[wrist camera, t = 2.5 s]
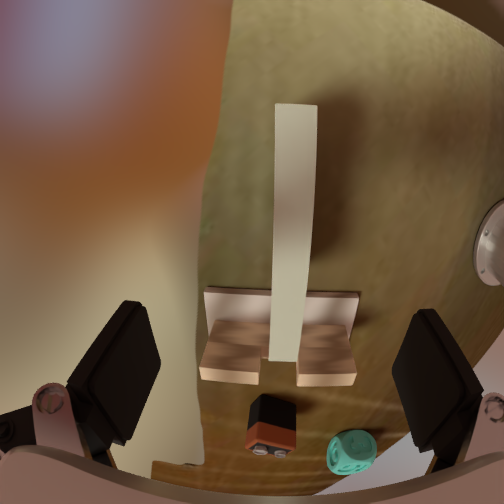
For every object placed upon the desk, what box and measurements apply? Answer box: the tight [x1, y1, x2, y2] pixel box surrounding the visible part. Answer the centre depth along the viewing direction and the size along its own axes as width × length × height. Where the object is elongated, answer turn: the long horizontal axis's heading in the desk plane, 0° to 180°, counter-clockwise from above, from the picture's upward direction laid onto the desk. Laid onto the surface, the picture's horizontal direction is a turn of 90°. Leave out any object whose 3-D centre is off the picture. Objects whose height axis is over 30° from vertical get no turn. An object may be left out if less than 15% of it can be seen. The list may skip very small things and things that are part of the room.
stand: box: [199, 287, 359, 386], centre depth 30 cm, size 18×10×9 cm, turn 90°
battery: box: [245, 395, 296, 458], centre depth 38 cm, size 4×7×10 cm, turn 64°
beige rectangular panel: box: [269, 104, 317, 362], centre depth 21 cm, size 2×16×14 cm, turn 0°
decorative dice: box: [327, 430, 377, 475], centre depth 43 cm, size 8×8×8 cm
